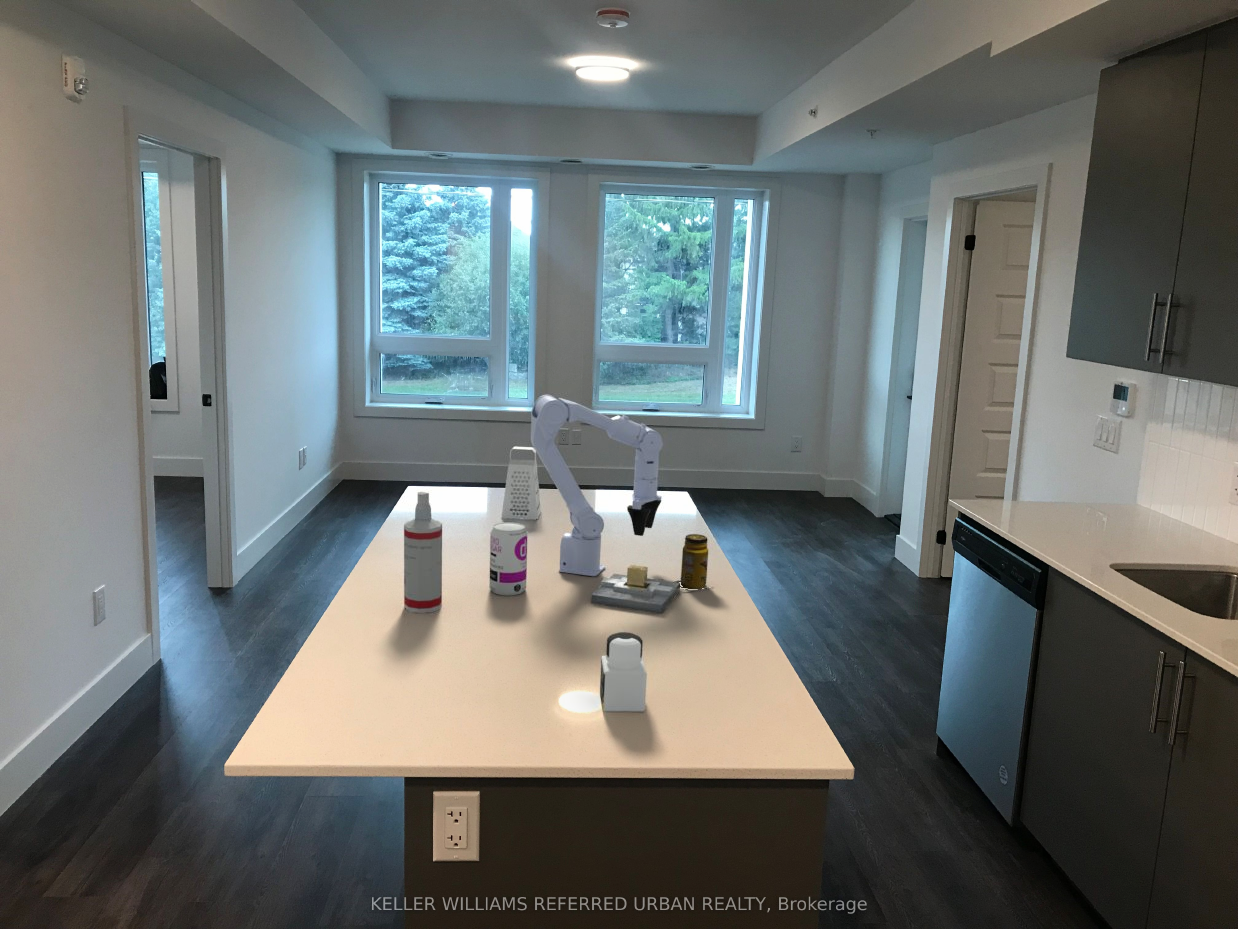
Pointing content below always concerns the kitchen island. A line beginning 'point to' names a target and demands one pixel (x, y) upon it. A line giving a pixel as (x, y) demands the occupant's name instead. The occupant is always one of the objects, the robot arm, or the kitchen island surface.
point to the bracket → (649, 591)
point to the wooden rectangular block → (637, 576)
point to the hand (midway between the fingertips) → (643, 531)
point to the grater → (522, 488)
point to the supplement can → (508, 558)
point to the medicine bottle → (623, 674)
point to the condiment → (694, 563)
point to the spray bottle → (423, 560)
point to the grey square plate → (635, 597)
